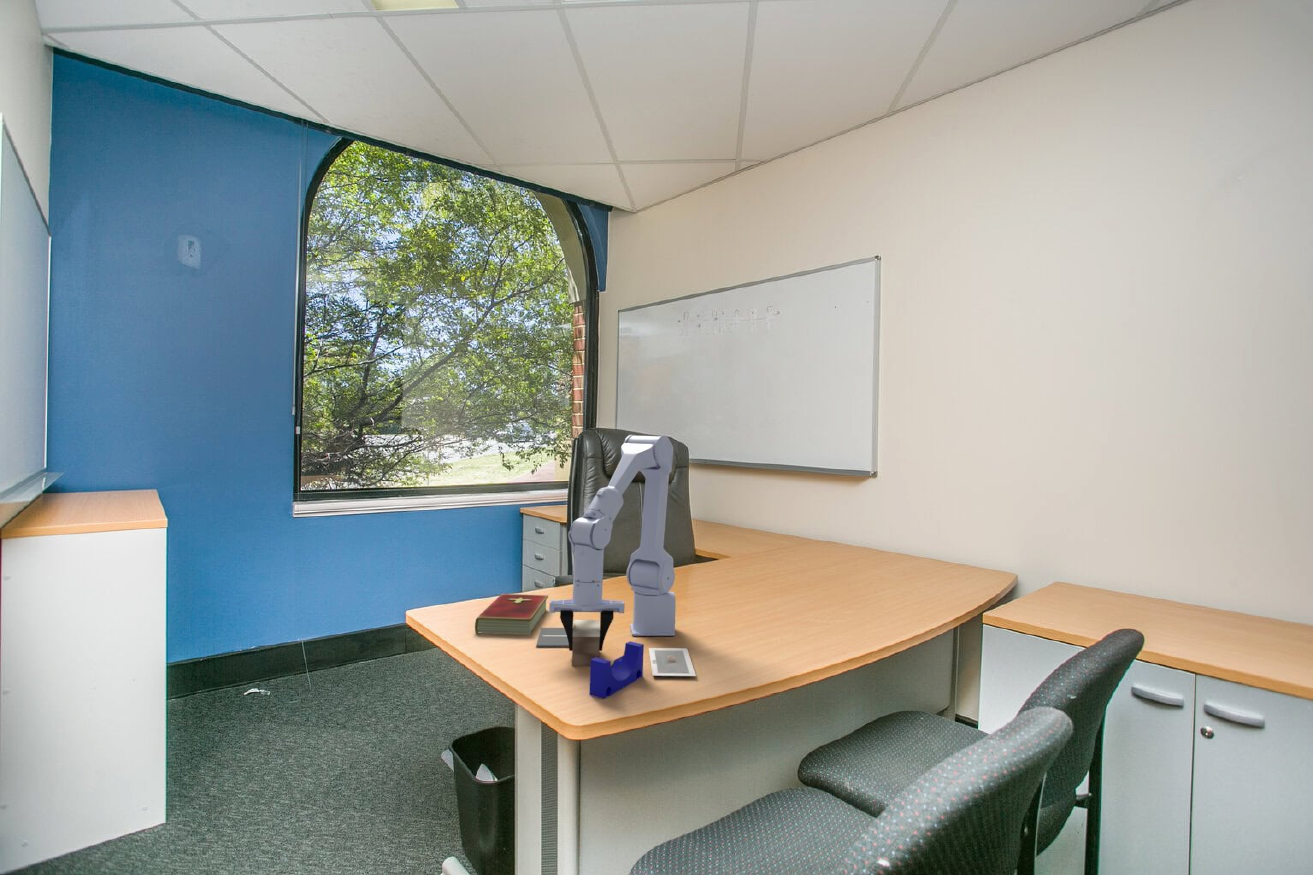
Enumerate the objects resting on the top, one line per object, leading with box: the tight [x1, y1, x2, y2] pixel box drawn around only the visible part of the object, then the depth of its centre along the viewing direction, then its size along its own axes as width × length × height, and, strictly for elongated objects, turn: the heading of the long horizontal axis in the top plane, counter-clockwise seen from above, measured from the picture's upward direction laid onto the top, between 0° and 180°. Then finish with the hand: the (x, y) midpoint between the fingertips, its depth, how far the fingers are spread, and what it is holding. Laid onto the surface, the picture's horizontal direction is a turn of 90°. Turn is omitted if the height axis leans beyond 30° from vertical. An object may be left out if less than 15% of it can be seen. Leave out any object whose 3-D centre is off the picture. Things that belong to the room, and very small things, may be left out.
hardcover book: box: [474, 593, 549, 636], centre depth 145 cm, size 12×21×4 cm, turn 0°
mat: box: [535, 627, 569, 648], centre depth 134 cm, size 12×12×1 cm
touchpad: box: [648, 647, 697, 677], centre depth 120 cm, size 8×15×2 cm, turn 3°
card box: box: [571, 619, 600, 667], centre depth 122 cm, size 5×9×6 cm, turn 6°
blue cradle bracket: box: [589, 641, 645, 699], centre depth 109 cm, size 12×4×6 cm, turn 149°
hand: (585, 649), depth 122 cm, fingers closed on card box, 5 cm apart
